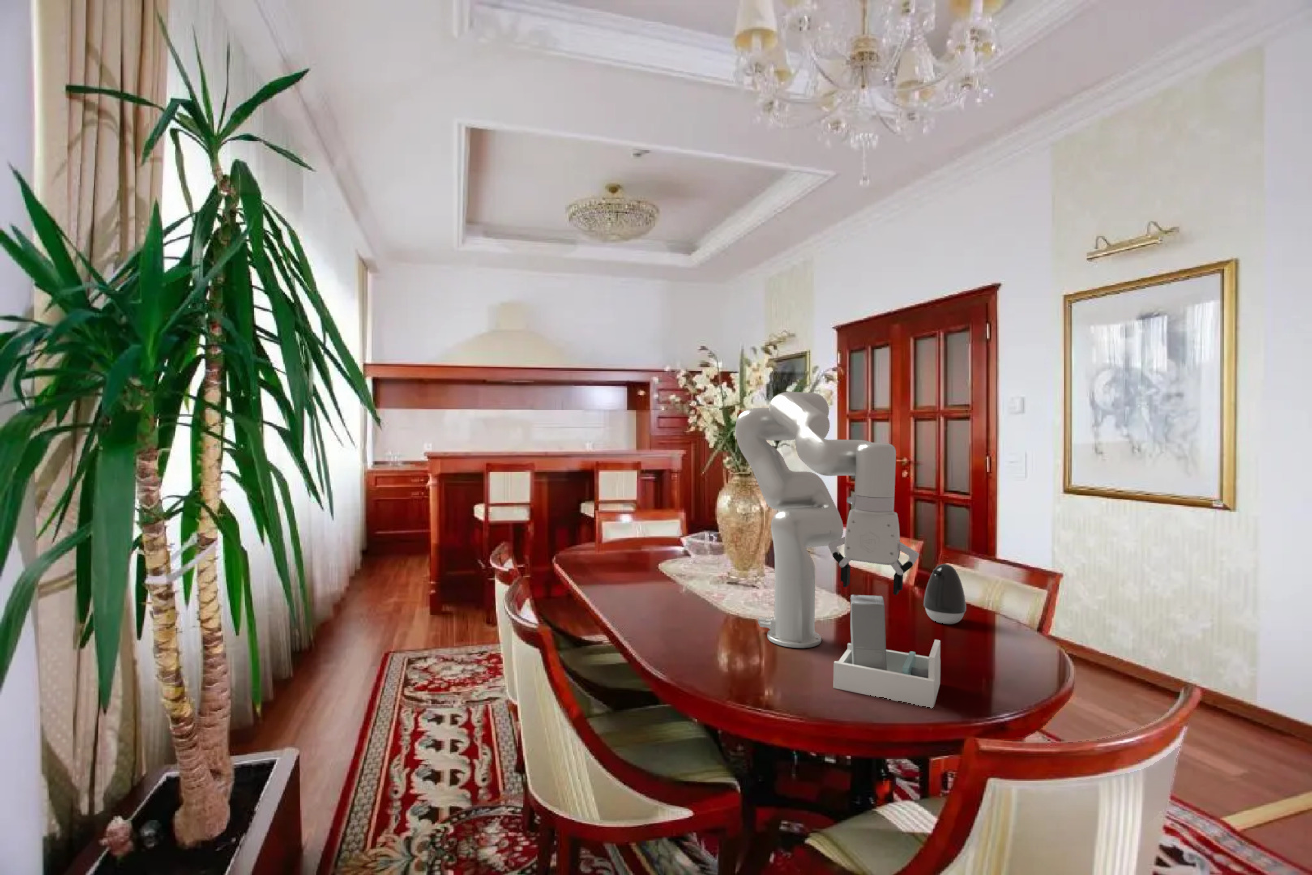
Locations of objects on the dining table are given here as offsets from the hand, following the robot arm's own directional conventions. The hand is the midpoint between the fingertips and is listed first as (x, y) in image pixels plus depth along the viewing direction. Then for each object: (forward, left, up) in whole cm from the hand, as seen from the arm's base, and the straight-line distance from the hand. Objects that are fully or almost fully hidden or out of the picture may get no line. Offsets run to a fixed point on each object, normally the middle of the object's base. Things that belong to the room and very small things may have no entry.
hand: (870, 589), depth 126 cm
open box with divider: (+3, 0, -19) cm, 19 cm away
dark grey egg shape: (+9, +52, -19) cm, 56 cm away
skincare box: (0, 0, -18) cm, 18 cm away
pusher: (+9, 0, -17) cm, 20 cm away
